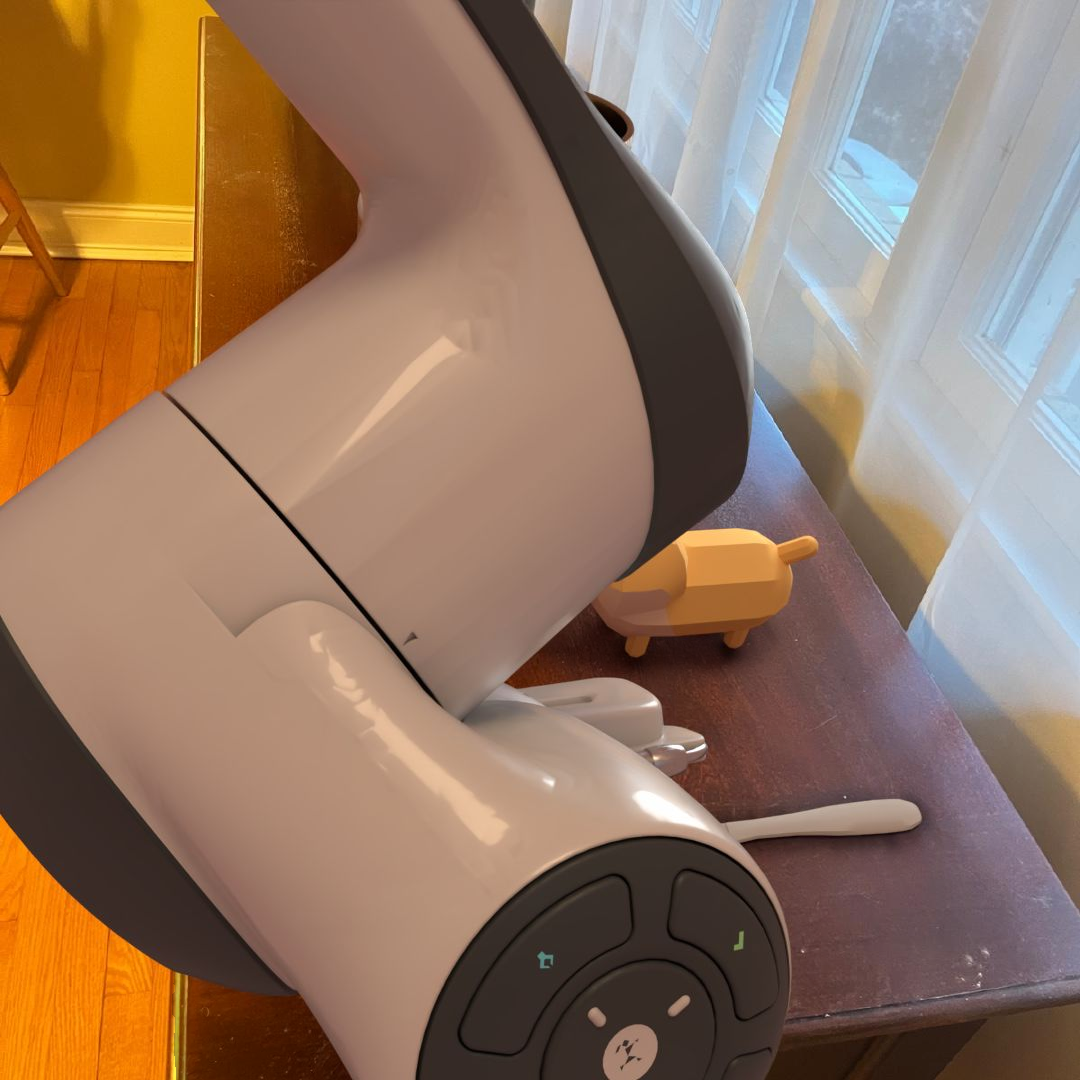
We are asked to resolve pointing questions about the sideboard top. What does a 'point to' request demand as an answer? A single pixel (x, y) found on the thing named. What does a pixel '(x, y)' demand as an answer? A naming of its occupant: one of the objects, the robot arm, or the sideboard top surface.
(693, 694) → the sideboard top surface
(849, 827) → the butter knife
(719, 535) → the dog
